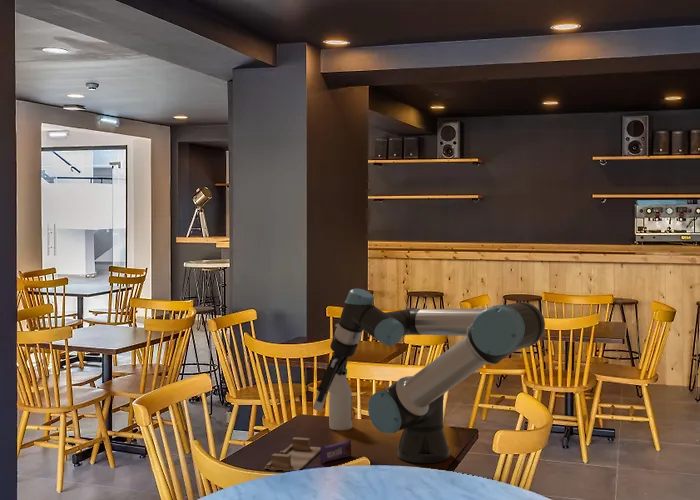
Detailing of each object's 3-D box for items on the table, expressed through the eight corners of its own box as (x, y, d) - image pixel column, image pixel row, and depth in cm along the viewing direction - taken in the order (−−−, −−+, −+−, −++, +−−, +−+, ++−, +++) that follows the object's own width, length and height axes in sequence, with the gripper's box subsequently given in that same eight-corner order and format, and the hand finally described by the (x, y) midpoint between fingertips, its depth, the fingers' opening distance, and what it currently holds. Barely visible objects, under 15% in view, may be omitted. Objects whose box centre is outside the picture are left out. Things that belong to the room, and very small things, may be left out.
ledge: (291, 447, 235) (291, 435, 235) (322, 449, 232) (322, 437, 232) (264, 469, 213) (264, 456, 213) (298, 472, 211) (298, 459, 211)
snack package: (322, 464, 217) (322, 447, 217) (318, 463, 219) (318, 445, 219) (353, 456, 225) (353, 439, 225) (349, 455, 226) (348, 438, 226)
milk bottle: (350, 431, 252) (349, 370, 251) (327, 430, 253) (326, 370, 253) (354, 425, 260) (353, 366, 259) (331, 424, 261) (331, 366, 260)
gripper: (346, 321, 237) (326, 380, 243) (320, 347, 214) (298, 412, 220) (368, 331, 236) (347, 390, 242) (345, 358, 212) (322, 423, 219)
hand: (324, 401), depth 231 cm, fingers open, 13 cm apart
